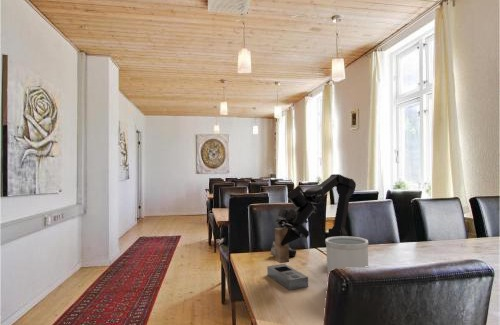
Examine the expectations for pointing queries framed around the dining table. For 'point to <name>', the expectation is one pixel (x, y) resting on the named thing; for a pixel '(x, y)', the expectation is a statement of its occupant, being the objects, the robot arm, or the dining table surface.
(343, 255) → the utensil holder
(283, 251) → the walnut peg
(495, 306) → the dining table surface
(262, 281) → the dining table surface
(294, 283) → the grey peg hole block
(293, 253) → the caster wheel
